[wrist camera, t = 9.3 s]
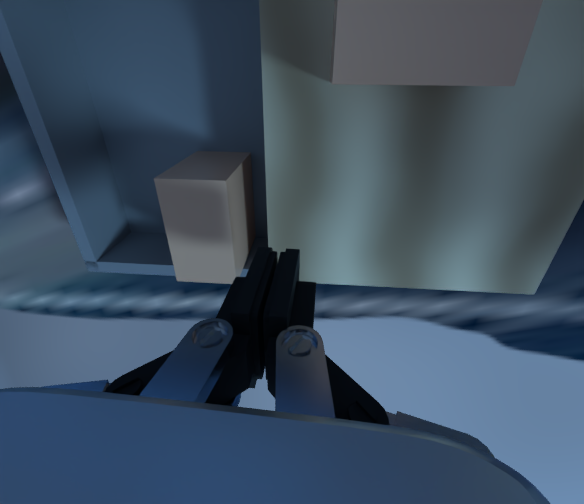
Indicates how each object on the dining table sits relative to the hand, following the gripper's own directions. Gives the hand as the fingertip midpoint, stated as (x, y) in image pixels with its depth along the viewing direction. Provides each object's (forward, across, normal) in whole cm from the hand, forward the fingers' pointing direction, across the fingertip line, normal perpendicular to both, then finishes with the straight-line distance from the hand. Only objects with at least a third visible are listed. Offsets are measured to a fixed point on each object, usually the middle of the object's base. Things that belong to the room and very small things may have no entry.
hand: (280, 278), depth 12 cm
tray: (+10, +8, -5) cm, 14 cm away
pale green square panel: (+11, -6, -5) cm, 13 cm away
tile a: (+6, +3, 0) cm, 7 cm away
